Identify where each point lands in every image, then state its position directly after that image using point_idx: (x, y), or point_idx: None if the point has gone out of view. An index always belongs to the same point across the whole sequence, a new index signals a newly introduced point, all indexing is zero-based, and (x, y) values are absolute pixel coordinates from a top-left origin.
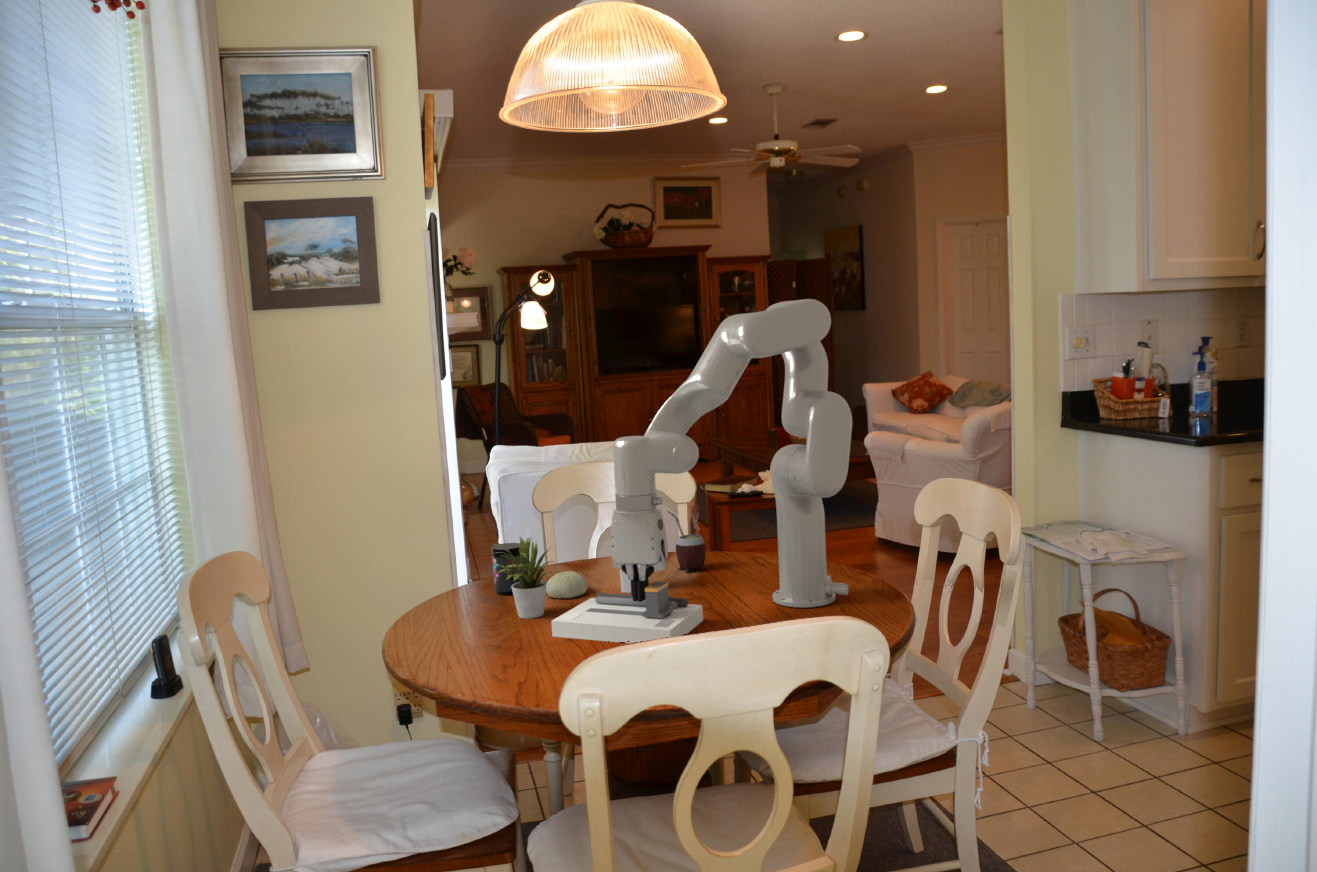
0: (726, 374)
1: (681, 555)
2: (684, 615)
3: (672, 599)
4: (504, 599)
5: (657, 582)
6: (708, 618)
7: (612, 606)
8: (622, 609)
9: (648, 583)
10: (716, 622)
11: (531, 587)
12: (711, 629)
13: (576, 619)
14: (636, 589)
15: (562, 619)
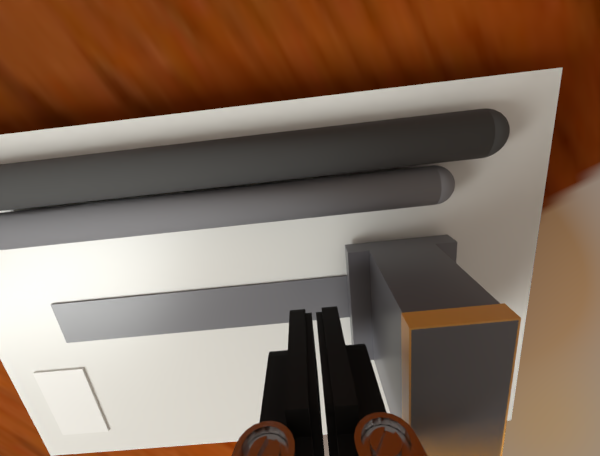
0: None
1: None
2: (513, 259)
3: (422, 158)
4: None
5: (435, 349)
6: (522, 36)
7: (117, 246)
8: (194, 272)
9: (381, 396)
10: (573, 83)
11: None
12: (570, 180)
13: (118, 422)
14: (322, 433)
15: (73, 435)
